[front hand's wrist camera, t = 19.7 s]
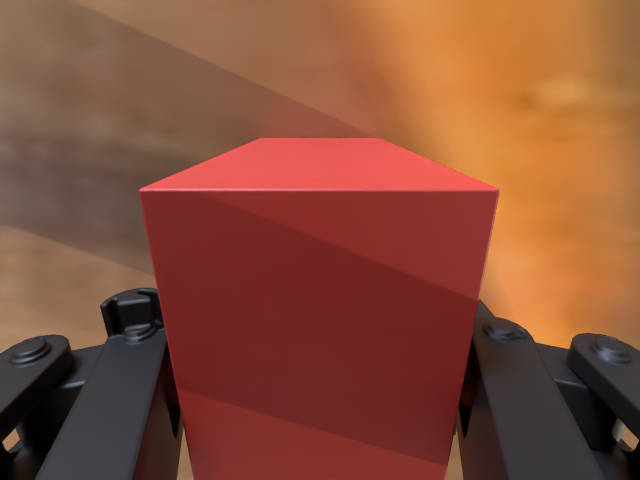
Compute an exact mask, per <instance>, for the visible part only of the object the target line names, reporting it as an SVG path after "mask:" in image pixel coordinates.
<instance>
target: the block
mask: <svg viewBox="0 0 640 480" xmlns="http://www.w3.org/2000/svg"><path fill="white" fill-rule="evenodd" d="M139 195H140V200H141V206H142V211H143V216H144V221H145V227H146V232H147V237H148V242H149V247H150V253H151V258H152V263H153V268H154V273H155V279H156V284H157V289H158V294H159V300H160V305H161V310H162V315H163V320H164V326H165V331H166V336H167V341H168V346H169V352H170V357H171V362H172V367H173V373H174V378H175V383H176V388H177V393H178V399H179V404H180V409H181V414H182V419H183V425H184V430H185V435H186V440H187V446H188V451H189V456H190V461H191V466H192V472H193V477H194V480H445V477H446V472H447V466H448V461H449V456H450V450H451V445H452V440H453V435H454V429H455V424H456V419H457V413H458V408H459V403H460V398H461V392H462V387H463V382H464V377H465V371H466V366H467V361H468V355H469V350H470V345H471V340H472V334H473V329H474V324H475V318H476V313H477V308H478V303H479V297H480V292H481V287H482V282H483V276H484V271H485V266H486V260H487V255H488V250H489V245H490V239H491V234H492V229H493V224H494V218H495V213H496V208H497V202H498V197H499V189H497V188H495V187H493V186H490V185H488V184H486V183H483V182H481V181H479V180H476V179H474V178H472V177H469V176H467V175H465V174H462V173H460V172H458V171H455V170H453V169H451V168H448V167H446V166H444V165H441V164H439V163H437V162H434V161H432V160H430V159H427V158H425V157H423V156H420V155H418V154H416V153H413V152H411V151H409V150H406V149H404V148H402V147H399V146H397V145H395V144H392V143H390V142H388V141H385V140H383V139H381V138H259V139H257V140H255V141H252V142H250V143H248V144H245V145H243V146H240V147H238V148H236V149H233V150H231V151H229V152H226V153H224V154H222V155H219V156H217V157H214V158H212V159H210V160H207V161H205V162H203V163H200V164H198V165H195V166H193V167H191V168H188V169H186V170H184V171H181V172H179V173H177V174H174V175H172V176H169V177H167V178H165V179H162V180H160V181H158V182H155V183H153V184H151V185H148V186H146V187H143V188H141V189H139Z"/></svg>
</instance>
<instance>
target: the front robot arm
mask: <svg viewBox="0 0 640 480" xmlns="http://www.w3.org/2000/svg"><path fill="white" fill-rule="evenodd" d="M100 308H101V312H102V315H103V319H104V323H105V327H106V331H107V334H108V338H107V340H106V342H105V344H103V345H99V346H94V347H88V348H83V349H78V350H73V351H72V350H71V347H70V344H69V341H68V339H67V338H65V337H64V336H61V335H45V336H37V337H34V338H30V339H26V340H24V341H23V342H21V343H19V344H16V345H14V346H12V347H10V348H9V349H7V350H5V351H4V352H2V353H1V354H0V480H177V472H178V465H179V457H180V449H181V441H182V433H183V426H184V425H183V419H182V414H181V409H180V404H179V399H178V393H177V388H176V383H175V378H174V373H173V367H172V362H171V357H170V352H169V346H168V341H167V336H166V331H165V326H164V320H163V315H162V310H161V305H160V300H159V294H158V289H154V288H137V289H132V290H127V291H124V292H121V293H119V294H116V295H114V296H112V297H110V298H108V299H107V300H105V301H104V302H103V303H102V304H101V305H100ZM625 427H627V428H628V429H629V430H630V431H631V432H632V433H633V434H634V435H635V436H636V437H637V438H638V439H639V442H638V444H637V446H636V448H635V449H634V450H632V449H631V448H630V447H629V446H628V445H627V444H626V443H625V442H624V441H623V440H622V439H621V436H622V434H623V432H624V429H625ZM15 428H16V431H17V433H18V435H19V438H20V440H19V441H18V442H17V443H16V444H15V445H14V447H12V448H11V449H10V450H9V451H7V450H5V448H4V445H3V443H2V441H3V440H4V439H5V438H6V437H7V436H8V435H9V434H10V433H11V432H12V431H13V430H14V429H15ZM456 428H457V433H458V440H459V448H460V456H461V464H462V471H463V479H464V480H640V351H638V350H637V349H635V348H633V347H632V346H630V345H629V344H626V343H624V342H622V341H619V340H618V339H616V338H613V337H610V336H608V337H607V335H602V334H592V333H584V334H578V335H576V336H575V337H573V339H572V342H571V345H570V348H569V349H565V348H560V347H555V346H549V345H544V344H540V343H536V342H534V340H533V338H532V336H531V335H530V334H529V333H528V331H527V330H526V329H524V328H523V327H521V326H520V325H518V324H516V323H514V322H511V321H509V320H507V319H503V318H498V317H495V316H494V315H493V314H492V313H491V311H490V310H489V309H488V308H487V307H486V306H485V304H484V303H483V302H482V301H481V300H480V299H479V303H478V308H477V313H476V318H475V324H474V329H473V334H472V340H471V345H470V350H469V355H468V361H467V366H466V371H465V377H464V382H463V387H462V392H461V398H460V403H459V408H458V413H457V419H456V424H455V429H454V435H455V434H456Z"/></svg>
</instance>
